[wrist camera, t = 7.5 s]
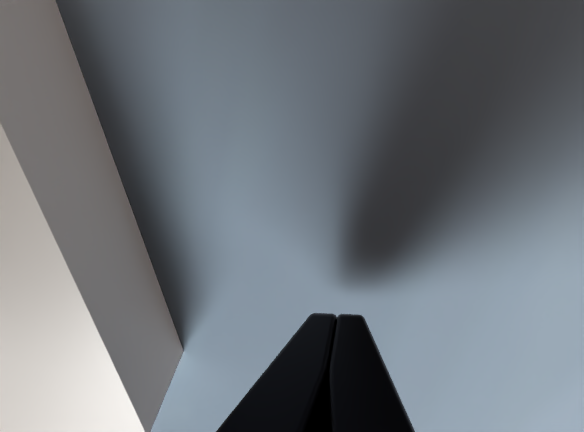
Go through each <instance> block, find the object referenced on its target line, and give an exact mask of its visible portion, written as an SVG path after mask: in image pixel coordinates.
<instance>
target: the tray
mask: <svg viewBox="0 0 584 432" xmlns="http://www.w3.org/2000/svg"><path fill="white" fill-rule="evenodd" d="M182 354H183V348H182V345H181V343H180V340H179V337H178V334H177V332H176V329H175V326H174V324H173V321H172V318H171V315H170V313H169V310H168V307H167V304H166V302H165V299H164V296H163V293H162V291H161V288H160V285H159V282H158V280H157V277H156V274H155V272H154V269H153V266H152V263H151V261H150V258H149V255H148V252H147V250H146V247H145V244H144V241H143V239H142V236H141V233H140V230H139V228H138V225H137V222H136V219H135V217H134V214H133V211H132V209H131V206H130V203H129V200H128V198H127V195H126V192H125V189H124V187H123V184H122V181H121V178H120V176H119V173H118V170H117V167H116V165H115V162H114V159H113V156H112V154H111V151H110V148H109V146H108V143H107V140H106V137H105V135H104V132H103V129H102V126H101V124H100V121H99V118H98V115H97V113H96V110H95V107H94V104H93V102H92V99H91V96H90V94H89V91H88V88H87V85H86V83H85V80H84V77H83V74H82V72H81V69H80V66H79V63H78V61H77V58H76V55H75V52H74V50H73V47H72V44H71V41H70V39H69V36H68V33H67V31H66V28H65V25H64V22H63V20H62V17H61V14H60V11H59V9H58V6H57V3H56V0H0V432H150V431H151V429H152V426H153V424H154V421H155V419H156V417H157V414H158V412H159V409H160V407H161V405H162V402H163V400H164V397H165V395H166V392H167V390H168V388H169V385H170V383H171V380H172V378H173V376H174V373H175V371H176V368H177V366H178V363H179V361H180V359H181V356H182Z"/></svg>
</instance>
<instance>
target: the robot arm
mask: <svg viewBox="0 0 584 432" xmlns="http://www.w3.org/2000/svg"><path fill="white" fill-rule="evenodd" d="M216 432H415V431H414V429H413V426H412V424H411V422H410V420H409V417H408V415H407V413H406V411H405V408H404V406H403V404H402V402H401V399H400V397H399V395H398V393H397V390H396V388H395V386H394V384H393V381H392V379H391V377H390V375H389V372H388V370H387V368H386V366H385V363H384V361H383V359H382V357H381V354H380V352H379V350H378V348H377V345H376V343H375V341H374V339H373V337H372V334H371V332H370V330H369V328H368V325H367V323H366V321H365V319H364V317H363V316H361V315H353V314H340V315H339V316H338V317H336V315H334V314H327V313H313V314H311V315H310V316H309V317H308V318H307V320H306V321H305V322H304V323H303V325H302V326H301V327H300V328H299V330H298V331H297V332H296V333H295V334H294V336H293V337H292V338H291V339H290V341H289V342H288V343H287V344H286V346H285V347H284V348H283V349H282V351H281V352H280V353H279V354H278V356H277V357H276V358H275V359H274V361H273V362H272V363H271V364H270V365H269V367H268V368H267V369H266V370H265V372H264V373H263V374H262V375H261V377H260V378H259V379H258V380H257V382H256V383H255V384H254V385H253V387H252V388H251V389H250V390H249V391H248V393H247V394H246V395H245V396H244V398H243V399H242V400H241V401H240V403H239V404H238V405H237V406H236V408H235V409H234V410H233V411H232V413H231V414H230V415H229V416H228V417H227V419H226V420H225V421H224V422H223V424H222V425H221V426H220V427H219V429H218V430H217V431H216Z"/></svg>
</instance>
